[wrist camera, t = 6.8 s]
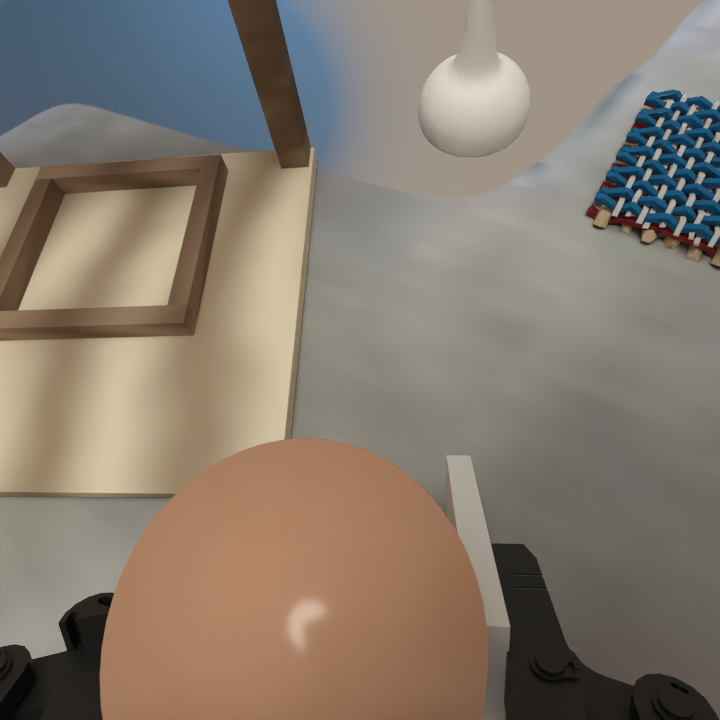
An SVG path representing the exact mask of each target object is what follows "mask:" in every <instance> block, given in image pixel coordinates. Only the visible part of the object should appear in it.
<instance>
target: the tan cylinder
mask: <svg viewBox="0 0 720 720" xmlns="http://www.w3.org/2000/svg"><path fill="white" fill-rule="evenodd" d="M487 674H488V633H487V626H486V618H485V611H484V604H483V600H482V596H481V592H480V588H479V584H478V581H477V577H476V574H475V571H474V569H473V566H472V564H471V561H470V558H469V556H468V553H467V551H466V549H465V547H464V545H463V543H462V541H461V539H460V537H459V536H458V534H457V532H456V530H455V528H454V526H453V525H452V523H451V522H450V521H449V519H448V518H447V516H446V515H445V513H444V512H443V510H442V509H441V508H440V506H439V505H438V504H437V503H436V502H435V501H434V499H433V498H432V497H431V496H430V495H429V494H428V493H427V492H426V491H425V489H424V488H423V487H421V486H420V485H419V484H418V483H417V482H416V481H415V480H413V479H412V478H411V477H410V476H409V475H408V474H407V473H405V472H404V471H402V470H401V469H399V468H398V467H396V466H395V465H393V464H392V463H390V462H389V461H387V460H385V459H383V458H381V457H379V456H377V455H375V454H373V453H371V452H369V451H367V450H364V449H361V448H358V447H355V446H352V445H349V444H346V443H341V442H336V441H331V440H326V439H310V438H300V439H285V440H279V441H274V442H269V443H264V444H260V445H257V446H254V447H251V448H248V449H245V450H242V451H240V452H237V453H235V454H233V455H231V456H229V457H227V458H225V459H222V460H221V461H219V462H217V463H216V464H214V465H213V466H211V467H209V468H208V469H206V470H204V471H203V472H201V473H200V474H199V475H198V476H196V477H195V478H194V479H193V480H191V481H190V482H189V483H187V484H186V485H185V486H184V487H183V488H182V489H181V490H180V491H179V492H178V493H177V494H176V495H174V496H173V497H172V498H171V499H170V500H169V501H168V502H167V503H166V505H165V506H164V507H163V508H162V509H161V511H160V512H159V513H158V514H157V516H156V517H155V518H154V519H153V520H152V522H151V523H150V524H149V526H148V527H147V529H146V530H145V532H144V533H143V535H142V537H141V538H140V540H139V541H138V543H137V544H136V546H135V548H134V550H133V552H132V554H131V556H130V558H129V559H128V561H127V563H126V565H125V567H124V570H123V572H122V575H121V577H120V580H119V582H118V585H117V587H116V590H115V592H114V596H113V599H112V603H111V606H110V610H109V613H108V617H107V620H106V626H105V632H104V637H103V643H102V650H101V665H100V698H101V711H102V717H103V720H480V719H481V715H482V710H483V706H484V701H485V695H486V685H487Z"/></svg>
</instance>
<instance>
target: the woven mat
mask: <svg viewBox="0 0 720 720" xmlns="http://www.w3.org/2000/svg"><path fill="white" fill-rule="evenodd" d="M687 97H688V95H687V94H686V93H684V94H683V96H682V94H681V92H680V91H677V90H669V91H664V92H660V93H657V92H653V91H652V92H651V93H650V95H648V96H647V98H646V101H645V103H644V105H646V106H649V107H652V108H651V110H646V109H643V110H642V111H641V112H639V113H638V115H637V117H636V120H635V123H634V125H633V127H632V129H631V131H630V132H629V133H628V135H627V138H626V141H625V142H628V143H632V144H633V145H632V146H631V148H629V147H626V146H625V145H624V146H623V147H621V148H620V150H619V152H618V154H617V156H616V160H617V161H620V162H623V165H620V164H614V163H613V164H612V166H611V169H610V171H608V173H607V175H606V179H605V180H606V181H609V182H612V183H613V184H610V183H607V182H605V181H604V182H603V183H602V185H601V187H600V191H599V192H598V193H597V194H596V196H595V199H594V201H595V202H599V203H602V205H601V207H600V209H599V210H598V209H597V208H596V207H595V206H593V205H592V206H590V207H589V208H588V210H587V213H588V214H589V215H590V216H591V217H592V218H593V219H595V220H594V223H593V224H594V225H597V226H599V227H603V228H606V227H607V225H608V224H617V223H621V224H622V225H621V230H620V232H623V233H626V234H630V233H631V231H632V229H633V227H636V228H640V229H643V231H642V234H641V240H642V241H643V242H646V243H650V242H652V241H653V240H654V239H655V238H656V237H657V235H656V233H660V234H663V235H666V238H665V240H664V243H665V247H668V248H672V249H674V248H675V247H677V246H678V245H679V244H680V242H683V243H686V244H688V245H690V247H689V249H688V252H687V254H686V257H685V258H686V259H689V260H692V261H695V262H699V259H700V257H701V254H702V252H703V250H704V251H705V252H706V253H707V254H708V255H709V256H710V257H711V258H713V259H712V261H711V262H710V263H712V264H714V265H717V266H720V106H719V104H720V103H719V102H718V101H717V100H716V101H714V104H712V103H711V102H710V101H708V100H707V99H706V98H704V97H703V96H700V97H693V98H687ZM666 99H669V100H668V102H667V101H664V100H666ZM673 101H674V102H675V103H673ZM672 103H673V104H672ZM696 105H697V108H696V110H695V107H696ZM689 106H690V107H689ZM694 110H695V112H694ZM654 150H656V151H654ZM668 165H671V166H670V170H667V167H668ZM645 170H646V171H645ZM707 176H710V178H707ZM636 179H638V180H636ZM660 186H661V187H660ZM633 190H636V192H635V193H634V191H633ZM676 202H677V203H679V205H678V204H676ZM623 212H626V214H625V215H622V214H619V213H623ZM674 216H675V217H674ZM712 226H714V229H712ZM715 244H717V245H716V246H715Z"/></svg>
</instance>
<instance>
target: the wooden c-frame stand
mask: <svg viewBox="0 0 720 720" xmlns="http://www.w3.org/2000/svg"><path fill="white" fill-rule="evenodd" d="M228 2H229V5H230V8H231V12H232V15H233V18H234V21H235V24H236V27H237V31H238V33H239V37H240V40H241V43H242V46H243V49H244V52H245V56H246V59H247V62H248V65H249V68H250V71H251V75H252V78H253V81H254V84H255V87H256V90H257V93H258V96H259V99H260V103H261V106H262V108H263V112H264V115H265V118H266V122H267V125H268V128H269V131H270V134H271V137H272V140H273V144H274V147H275V150H268V151H254V152H240V153H225V154H211V155H197V156H183V157H169V158H155V159H141V160H127V161H113V162H99V163H85V164H71V165H57V166H42V167H28V168H14V166H13V165H12V164H11V163H10V162H9V161H8V160H7V159H6V158H5V157H4V156H3V155H2V154H1V153H0V496H44V497H136V498H172V497H173V496H174V495H176V494H177V493H178V492H179V491H180V490H181V489H182V488H183V487H184V486H185V485H186V484H187V483H189V482H190V481H191V480H193V479H194V478H195V477H196V476H198V475H199V474H200V473H201V472H203V471H204V470H206V469H208V468H209V467H211V466H213V465H214V464H216V463H217V462H219V461H221V460H222V459H225V458H227V457H229V456H231V455H233V454H235V453H237V452H240V451H242V450H245V449H248V448H251V447H254V446H257V445H260V444H264V443H269V442H274V441H279V440H285V439H291V429H292V419H293V409H294V398H295V388H296V377H297V367H298V357H299V346H300V336H301V326H302V315H303V305H304V294H305V284H306V274H307V263H308V253H309V242H310V232H311V222H312V211H313V201H314V190H315V180H316V170H317V157H316V153H315V149H314V147H311V146H310V142H309V138H308V134H307V130H306V126H305V121H304V117H303V112H302V108H301V104H300V100H299V96H298V92H297V87H296V83H295V79H294V75H293V70H292V66H291V62H290V58H289V54H288V49H287V45H286V41H285V37H284V33H283V29H282V25H281V20H280V16H279V12H278V8H277V3H276V0H228Z"/></svg>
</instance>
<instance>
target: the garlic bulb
mask: <svg viewBox="0 0 720 720" xmlns="http://www.w3.org/2000/svg"><path fill="white" fill-rule="evenodd" d="M495 1H496V0H471V1H470V4H469V9H468V12H467V16H466V20H465V26H464V31H463V35H462V40H461V43H460V47H459V50H458V52H457V54H455V55H453V56H451V57H450V58H448V59H446V60H445V61H443V62H442V63H441V64H440V65H438V66H437V67H436V68H435V69H434V71H433V72H432V73H431V74H430V76H429V77H428V79H427V80H426V82H425V84H424V86H423V89H422V92H421V95H420V99H419V121H420V126H421V129H422V131H423V133H424V134H425V136H426V138H427V139H428V140H429V142H430V143H431V144H433V145H434V146H435V147H437V148H438V149H440V150H441V151H443V152H446V153H449V154H452V155H455V156H461V157H478V156H486V155H489V154H492V153H495V152H497V151H499V150H501V149H504V148H506V147H507V146H508V145H509V144H511V143H512V142H513V141H514V140H515V139H516V138H517V137H518V135H519V134H520V132H521V131H522V129H523V128H524V125H525V123H526V121H527V118H528V115H529V109H530V91H529V86H528V83H527V80H526V78H525V75H524V74H523V72H522V71H521V69H520V68H519V66H518V65H517V64H516V63H515V62H513V61H512V60H511V59H509V58H508V57H507V56H505V55H503V54H501V53H498V52H497V40H496V10H495V9H496V3H495Z"/></svg>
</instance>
